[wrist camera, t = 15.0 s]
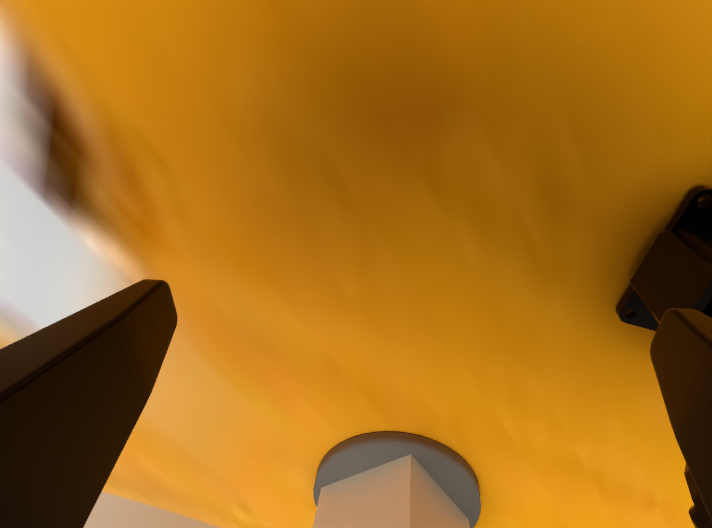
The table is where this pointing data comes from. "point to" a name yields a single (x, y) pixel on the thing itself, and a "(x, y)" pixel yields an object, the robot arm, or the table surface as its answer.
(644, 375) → the table surface
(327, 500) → the rubber stamp
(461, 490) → the gray disc
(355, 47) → the table surface
